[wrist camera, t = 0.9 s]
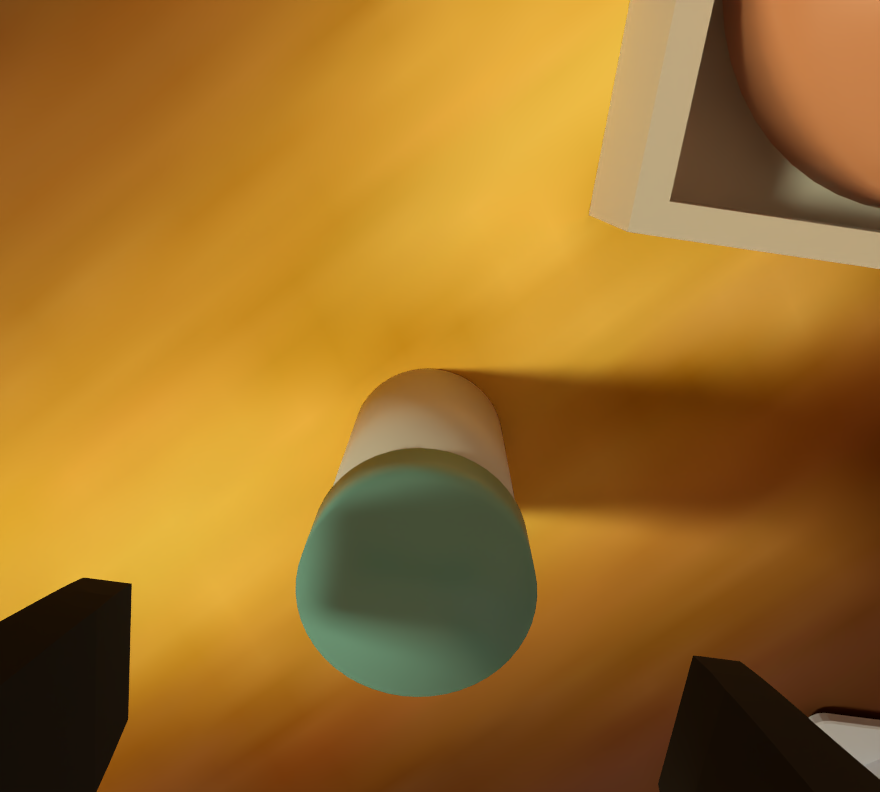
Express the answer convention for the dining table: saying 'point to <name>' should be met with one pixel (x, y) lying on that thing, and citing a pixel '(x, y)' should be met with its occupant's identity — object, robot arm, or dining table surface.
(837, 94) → the orange dome
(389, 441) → the jar with green lid
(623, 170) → the open square beige box
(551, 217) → the dining table surface
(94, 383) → the dining table surface
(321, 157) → the dining table surface
